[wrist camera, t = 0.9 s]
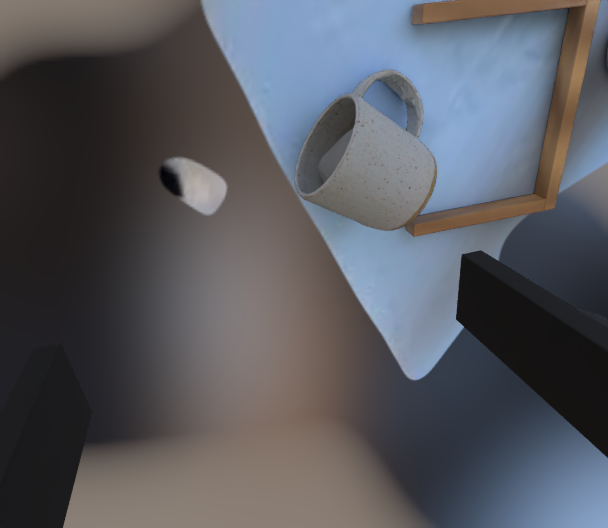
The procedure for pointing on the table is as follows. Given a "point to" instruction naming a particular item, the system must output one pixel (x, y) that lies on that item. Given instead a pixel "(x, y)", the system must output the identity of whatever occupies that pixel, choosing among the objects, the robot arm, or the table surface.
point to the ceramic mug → (368, 159)
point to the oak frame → (569, 79)
